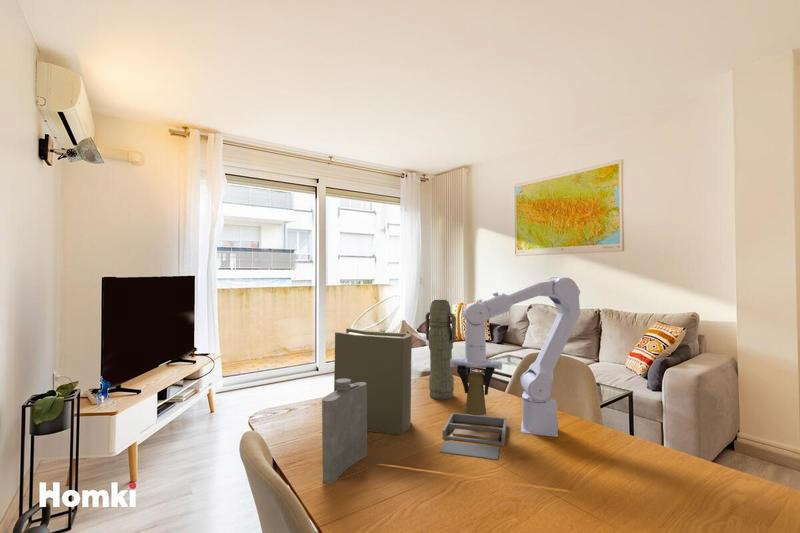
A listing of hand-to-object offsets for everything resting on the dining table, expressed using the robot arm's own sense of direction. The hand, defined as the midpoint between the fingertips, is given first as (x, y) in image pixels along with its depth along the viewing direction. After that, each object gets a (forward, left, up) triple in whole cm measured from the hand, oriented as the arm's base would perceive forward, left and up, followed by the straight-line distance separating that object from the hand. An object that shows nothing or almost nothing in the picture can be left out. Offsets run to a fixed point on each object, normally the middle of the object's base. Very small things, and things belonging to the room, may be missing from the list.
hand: (476, 393), depth 111 cm
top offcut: (-1, +7, -10) cm, 12 cm away
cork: (0, 0, -5) cm, 5 cm away
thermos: (+16, -27, -11) cm, 33 cm away
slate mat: (0, +14, -10) cm, 18 cm away
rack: (0, +3, -10) cm, 11 cm away
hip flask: (+27, +30, -11) cm, 42 cm away
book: (+29, +6, -11) cm, 31 cm away
